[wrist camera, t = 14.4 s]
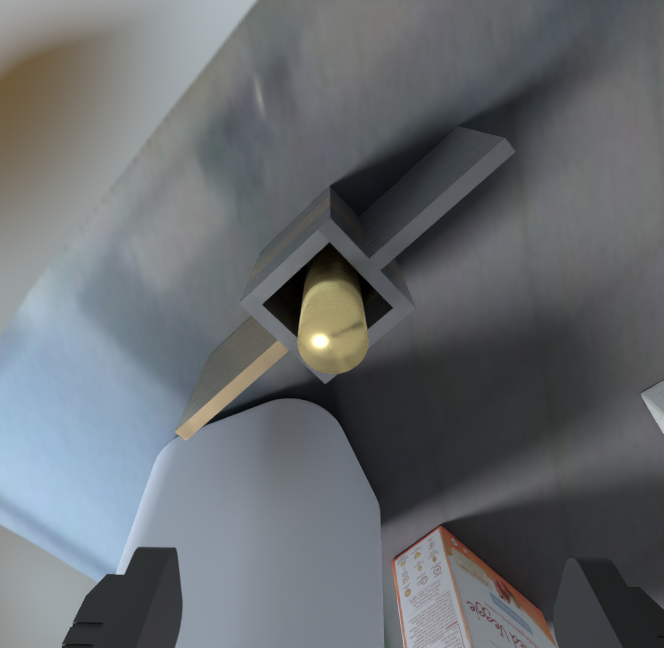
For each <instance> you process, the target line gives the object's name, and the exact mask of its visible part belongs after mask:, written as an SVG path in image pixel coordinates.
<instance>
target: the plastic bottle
mask: <svg viewBox="0 0 664 648" xmlns="http://www.w3.org/2000/svg"><path fill="white" fill-rule="evenodd" d="M138 547H175V548H176V550H177V554H178V562H179V571H180V580H181V590H182V599H183V611H182V620H181V627H180V631H179V635H178V639H177V642H176V646H175V648H384V627H383V592H382V556H381V521H380V508H379V504H378V501H377V498H376V496H375V494H374V492H373V490H372V488H371V486H370V484H369V482H368V480H367V478H366V476H365V474H364V472H363V470H362V468H361V466H360V464H359V462H358V460H357V458H356V456H355V454H354V452H353V450H352V448H351V446H350V444H349V442H348V440H347V437H346V435H345V433H344V431H343V429H342V428H341V426H340V424H339V423H338V421H337V420H336V419H335V418H334V417H333V416H332V415H331V414H330V413H329V412H328V411H326V410H325V409H324V408H322V407H320V406H318V405H316V404H314V403H312V402H309V401H306V400H301V399H293V398H286V399H277V400H273V401H270V402H267V403H264V404H261V405H259V406H256V407H253V408H251V409H248V410H245V411H243V412H240V413H238V414H235V415H232V416H230V417H227V418H224V419H222V420H219V421H216V422H214V423H211V424H209V425H206V426H203V427H201V428H200V429H199V430H198V431H197V432H196V433H194V434H193V435H192V436H191V437H190V438H189V439H188V440H187V441H186V440H184V439H183V438H182V437H180V436H178V437H177V438H175V439H173V440H172V441H171V442H170V443H168V444H167V445H166V446H165V447H164V448H163V449H162V451H161V452H160V454H159V455H158V457H157V459H156V461H155V463H154V466H153V469H152V472H151V475H150V478H149V480H148V483H147V486H146V489H145V492H144V495H143V498H142V500H141V503H140V506H139V509H138V512H137V515H136V517H135V520H134V523H133V526H132V529H131V532H130V535H129V537H128V540H127V543H126V546H125V549H124V552H123V555H122V557H121V560H120V563H119V566H118V569H117V572H116V574H121V575H124V574H125V572H126V569H127V567H128V565H129V562H130V560H131V558H132V556H133V553H134V551H135V550H136V549H137V548H138Z"/></svg>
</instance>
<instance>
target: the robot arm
mask: <svg viewBox="0 0 664 648" xmlns="http://www.w3.org/2000/svg"><path fill="white" fill-rule="evenodd" d="M182 611H183V599H182V590H181V580H180V571H179V562H178V554H177V550H176V548H175V547H138V548H137V549H136V550H135V551H134V553H133V556H132V558H131V560H130V562H129V565H128V567H127V569H126V572H125V574H124V575H121V574H107V575H106V576H105V577H104V578H103V579H102V580H101V581H100V582H99V583H98V584H97V585H96V586H95V587H94V588H93V589H92V590H91V591H90V592H89V593H88V594H87V595H86V597H85V599H84V601H83V603H82V605H81V607H80V609H79V611H78V613H77V615H76V617H75V619H74V621H73V626H72V627H70V629H69V631H68V633H67V635H66V637H65V639H64V642H63V643H62V648H175V646H176V642H177V639H178V635H179V631H180V627H181V620H182ZM553 625H554V632H555V636H556V640H557V643H558V646H559V648H664V609H662V608H661V607H660V606H659V605H658V604H657V603H656V602H655V601H654V600H653V599H652V598H650V597H649V596H648V595H647V594H646V593H645V592H644V591H643V590H642V589H641V588H640V587H627V585H626V583H625V582H624V580H623V578H622V577H621V575H620V573H619V572H618V570H617V568H616V567H615V565H614V564H613V563H612V562H611V561H610V560H609V559H607V558H568V559H567V561H566V563H565V567H564V571H563V574H562V578H561V582H560V586H559V590H558V594H557V598H556V602H555V606H554V610H553Z"/></svg>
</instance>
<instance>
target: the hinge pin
mask: <svg viewBox="0 0 664 648" xmlns="http://www.w3.org/2000/svg"><path fill="white" fill-rule="evenodd" d="M297 344H298V350H299V353H300V355H301V357H302V358H303V360H304V361H305V362H306V363H307V364H308V365H309V366H310V367H312V368H313V369H315V370H317V371H319V372H322V373H327V374H339V373H344V372H347V371H349V370H351V369H353V368H354V367H356V366H357V365H358V364H359V363H360V362H361V361H362V360H363V358H364V357H365V355H366V353H367V350H368V345H369V338H368V331H367V325H366V319H365V313H364V307H363V301H362V295H361V289H360V282H359V276H358V271H357V270H356V269H355V268H354V267H353V266H352V265H351V264H350V263H349V262H348V260H347V259H346V258H345V257H344V256H343V255H342V254H341V253H340V252H339V251H338V250H337V249H336V248H335V247H334V246H333V245H332V244H331V243H330V242H329V243H328V244H327V245H326V246H325V247H323V248H322V249H321V250H320V251H319V252H318V253H317V254H316V255H315V256H314V257H313V258H312V259H311V260H309V261H308V262H307V268H306V276H305V284H304V292H303V299H302V307H301V315H300V323H299V331H298V340H297Z"/></svg>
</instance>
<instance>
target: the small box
mask: <svg viewBox="0 0 664 648" xmlns="http://www.w3.org/2000/svg"><path fill="white" fill-rule="evenodd" d="M641 396H642V398H643V400H644V402H645V403H646V405H647V407H648V409H649V410H650V412H651V414H652V415H653V417H654V419H655V420H656V422H657V424H658V425H659V427H660V429H661V430H662V432H663V434H664V380H663V381H661V382H659V383H658V384H656V385H654V386H652V387H651V388H649V389H647V390H645V391H644V392H642V393H641Z"/></svg>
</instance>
